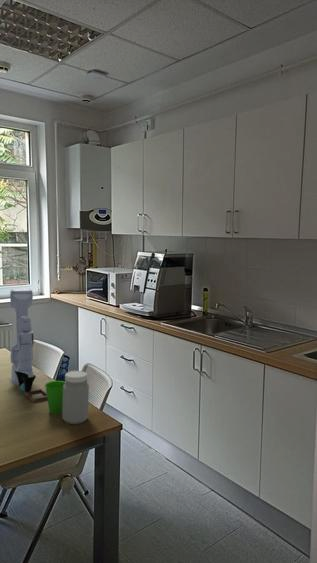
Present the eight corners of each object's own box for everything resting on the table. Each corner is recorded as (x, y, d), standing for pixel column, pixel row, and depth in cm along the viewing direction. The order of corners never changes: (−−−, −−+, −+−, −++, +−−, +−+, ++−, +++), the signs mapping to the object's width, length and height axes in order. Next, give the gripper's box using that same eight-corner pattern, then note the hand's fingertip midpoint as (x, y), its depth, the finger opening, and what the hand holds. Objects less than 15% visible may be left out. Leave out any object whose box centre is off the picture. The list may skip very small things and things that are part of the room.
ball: (18, 391, 183) (19, 382, 183) (27, 389, 185) (27, 380, 185) (22, 394, 180) (22, 385, 179) (31, 392, 182) (31, 383, 182)
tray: (24, 395, 179) (24, 391, 179) (42, 392, 184) (42, 388, 184) (32, 403, 171) (32, 399, 171) (51, 399, 176) (51, 395, 176)
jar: (60, 415, 161) (61, 370, 159) (85, 413, 164) (86, 369, 162) (64, 426, 152) (65, 379, 150) (90, 423, 155) (91, 377, 153)
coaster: (17, 391, 183) (17, 391, 183) (28, 389, 186) (28, 388, 186) (21, 395, 179) (21, 394, 179) (32, 393, 182) (32, 392, 182)
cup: (70, 407, 169) (71, 381, 168) (63, 416, 160) (63, 389, 159) (49, 405, 170) (49, 379, 169) (40, 414, 161) (41, 387, 160)
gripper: (10, 355, 184) (10, 385, 186) (22, 364, 173) (21, 395, 174) (26, 353, 189) (26, 382, 190) (38, 361, 177) (37, 392, 179)
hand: (25, 388), depth 182 cm, fingers open, 7 cm apart
